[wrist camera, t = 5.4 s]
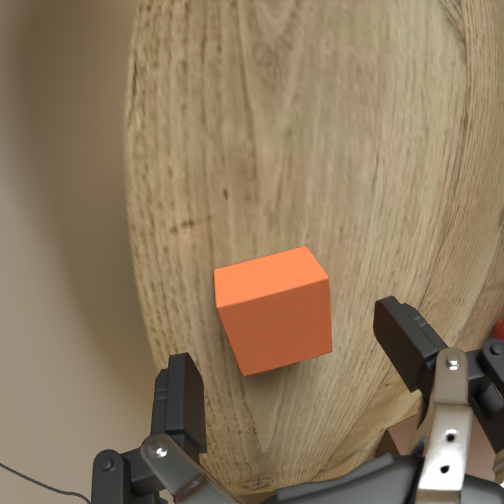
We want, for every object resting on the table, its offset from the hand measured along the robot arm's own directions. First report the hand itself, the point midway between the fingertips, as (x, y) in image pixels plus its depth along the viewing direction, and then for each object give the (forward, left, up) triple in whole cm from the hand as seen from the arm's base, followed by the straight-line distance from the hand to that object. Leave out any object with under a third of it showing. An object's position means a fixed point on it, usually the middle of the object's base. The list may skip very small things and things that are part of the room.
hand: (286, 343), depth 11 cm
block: (0, 0, -4) cm, 4 cm away
